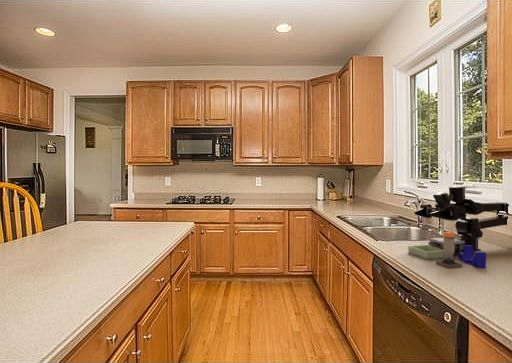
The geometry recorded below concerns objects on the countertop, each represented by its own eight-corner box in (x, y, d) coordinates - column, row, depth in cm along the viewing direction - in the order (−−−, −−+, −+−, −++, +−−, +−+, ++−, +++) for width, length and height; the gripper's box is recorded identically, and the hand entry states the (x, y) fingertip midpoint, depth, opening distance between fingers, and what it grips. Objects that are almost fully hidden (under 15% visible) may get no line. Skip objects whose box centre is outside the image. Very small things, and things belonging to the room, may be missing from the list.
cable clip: (459, 259, 136) (459, 245, 135) (471, 260, 135) (471, 245, 135) (472, 268, 124) (472, 252, 124) (485, 268, 123) (486, 252, 123)
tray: (427, 251, 149) (427, 244, 149) (447, 258, 138) (447, 250, 138) (408, 252, 147) (408, 246, 147) (427, 259, 136) (427, 252, 136)
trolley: (449, 249, 153) (449, 236, 152) (472, 255, 140) (472, 241, 140) (423, 251, 150) (423, 237, 150) (444, 258, 138) (444, 243, 138)
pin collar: (449, 262, 131) (449, 260, 131) (462, 266, 125) (462, 264, 125) (436, 263, 130) (436, 261, 130) (448, 268, 124) (448, 265, 124)
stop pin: (449, 263, 129) (449, 231, 129) (456, 266, 126) (456, 233, 126) (441, 264, 129) (441, 232, 128) (448, 267, 125) (448, 233, 125)
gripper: (434, 192, 158) (405, 195, 154) (468, 192, 140) (437, 195, 136) (436, 215, 158) (408, 219, 154) (470, 218, 140) (439, 223, 136)
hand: (422, 213), depth 145 cm, fingers open, 9 cm apart
